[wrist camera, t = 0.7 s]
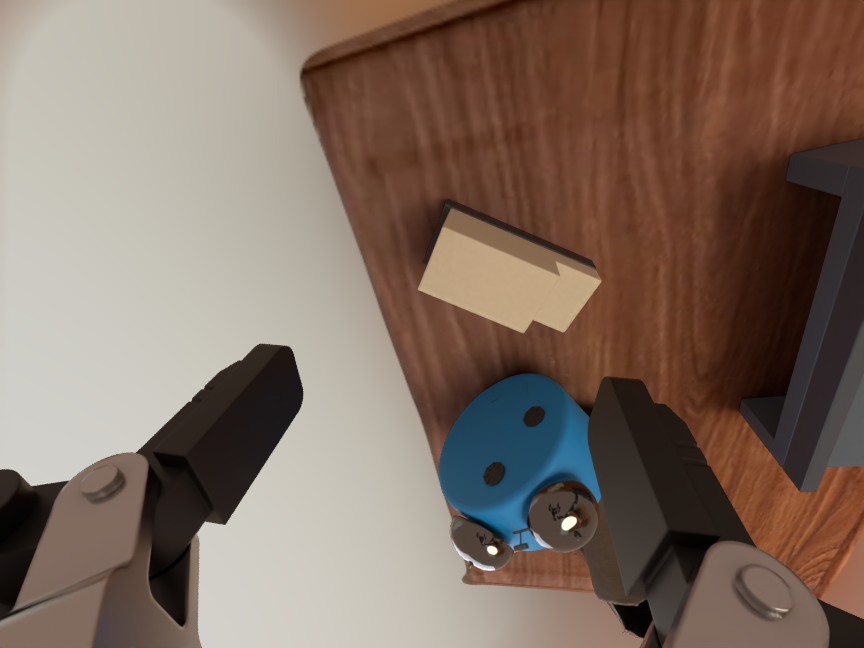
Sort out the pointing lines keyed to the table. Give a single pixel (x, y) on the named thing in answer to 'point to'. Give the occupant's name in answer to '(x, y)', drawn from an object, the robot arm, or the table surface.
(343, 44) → the table surface
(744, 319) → the table surface
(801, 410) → the grey stand
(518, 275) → the tan stepped block
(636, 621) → the loafer
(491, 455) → the alarm clock
